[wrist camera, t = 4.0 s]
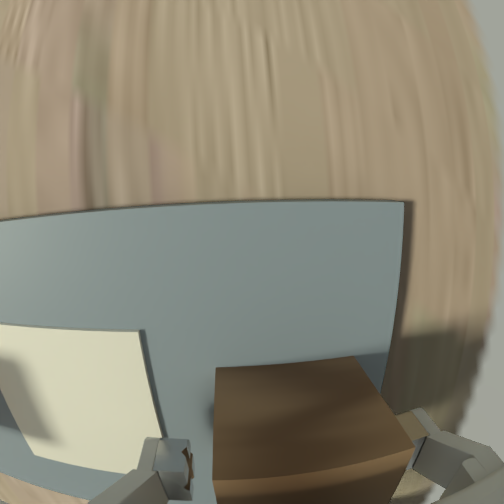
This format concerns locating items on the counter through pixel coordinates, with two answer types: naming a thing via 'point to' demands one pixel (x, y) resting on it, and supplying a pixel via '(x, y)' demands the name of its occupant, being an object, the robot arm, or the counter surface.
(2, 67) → the counter surface
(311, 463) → the walnut block
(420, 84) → the counter surface
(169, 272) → the build board
